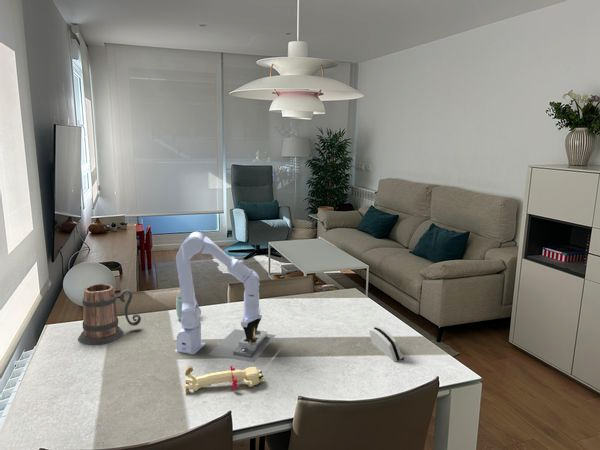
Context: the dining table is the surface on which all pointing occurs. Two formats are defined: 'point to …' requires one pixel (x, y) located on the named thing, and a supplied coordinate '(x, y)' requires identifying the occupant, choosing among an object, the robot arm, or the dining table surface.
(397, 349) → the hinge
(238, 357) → the mat
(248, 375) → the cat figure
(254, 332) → the pin
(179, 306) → the cup
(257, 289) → the robot arm
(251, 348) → the latch strike plate
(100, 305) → the tankard
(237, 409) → the dining table surface
